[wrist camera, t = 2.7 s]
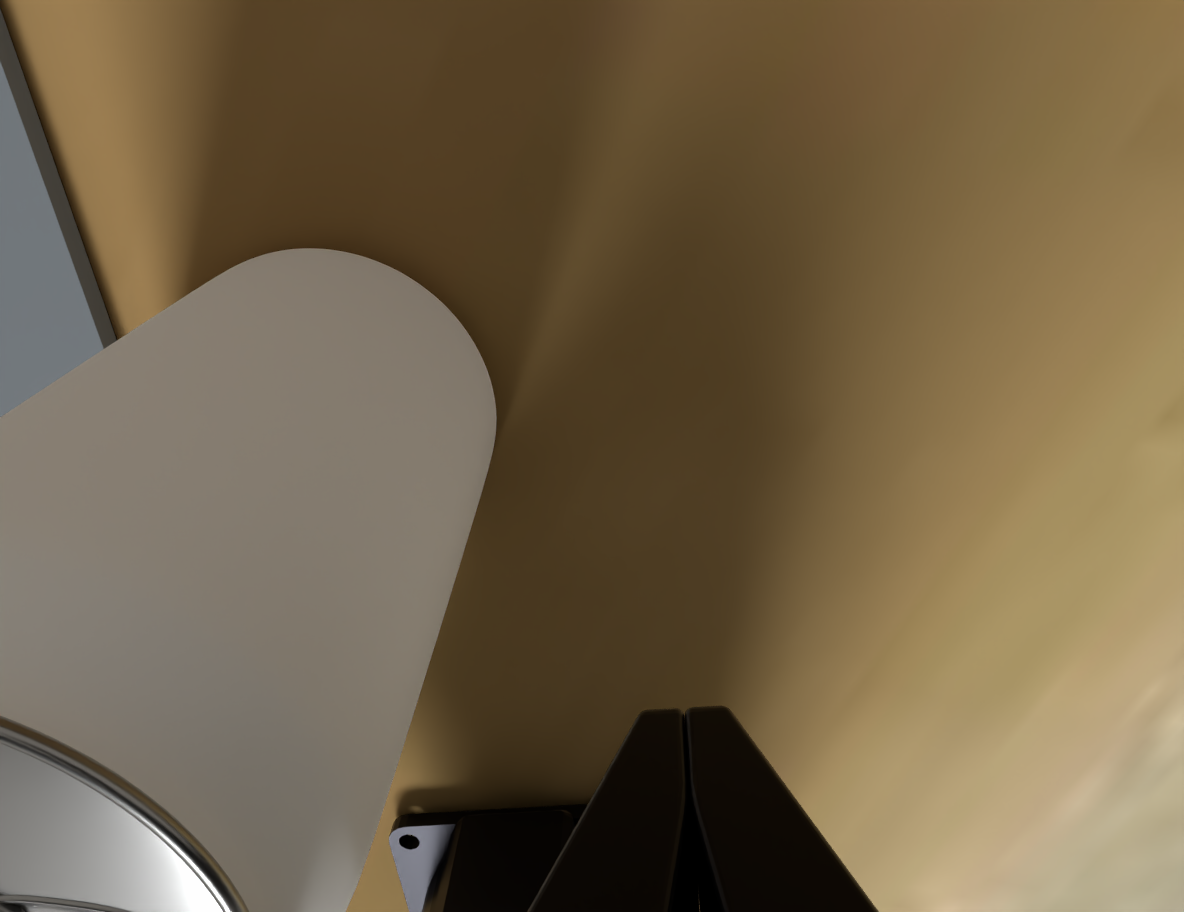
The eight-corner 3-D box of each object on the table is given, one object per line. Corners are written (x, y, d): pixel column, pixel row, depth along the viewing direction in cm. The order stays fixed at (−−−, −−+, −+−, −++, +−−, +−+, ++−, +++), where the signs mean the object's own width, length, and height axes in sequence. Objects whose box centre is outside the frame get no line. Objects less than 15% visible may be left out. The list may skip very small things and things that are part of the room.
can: (419, 592, 21) (179, 1246, 10) (134, 457, 19) (-496, 1030, 9) (559, 347, 18) (443, 869, 7) (239, 174, 17) (-470, 488, 6)
